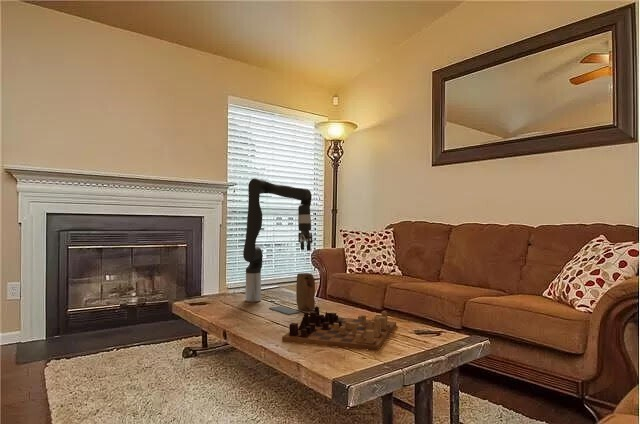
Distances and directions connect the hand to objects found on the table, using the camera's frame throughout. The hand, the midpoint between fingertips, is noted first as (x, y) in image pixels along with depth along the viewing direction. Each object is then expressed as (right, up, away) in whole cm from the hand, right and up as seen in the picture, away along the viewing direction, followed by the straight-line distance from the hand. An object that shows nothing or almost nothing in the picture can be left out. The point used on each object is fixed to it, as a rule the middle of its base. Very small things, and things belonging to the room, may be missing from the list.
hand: (305, 250), depth 252 cm
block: (+1, -32, -13) cm, 35 cm away
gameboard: (+18, -32, -63) cm, 73 cm away
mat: (-11, -32, -16) cm, 37 cm away
